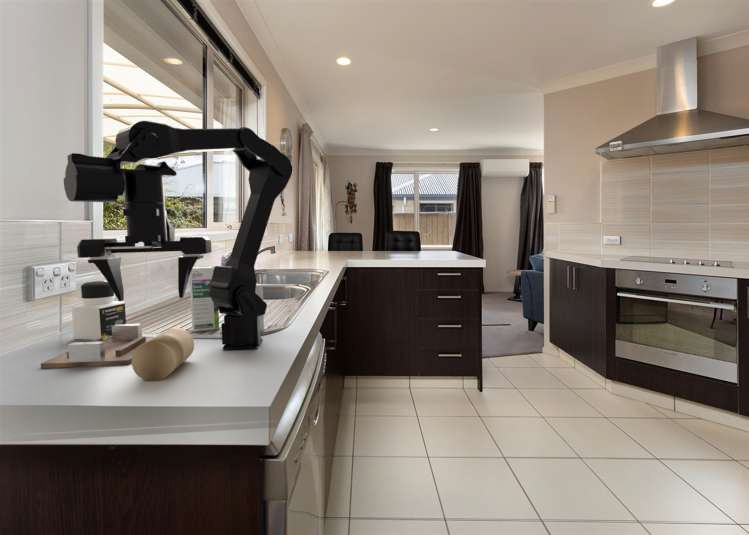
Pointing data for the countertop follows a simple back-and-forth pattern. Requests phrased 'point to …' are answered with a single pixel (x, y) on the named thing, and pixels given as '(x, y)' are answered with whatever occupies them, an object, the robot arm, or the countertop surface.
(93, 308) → the medicine bottle
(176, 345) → the paper roll
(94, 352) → the holder stand
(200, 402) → the countertop surface
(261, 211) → the robot arm
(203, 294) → the syrup box
